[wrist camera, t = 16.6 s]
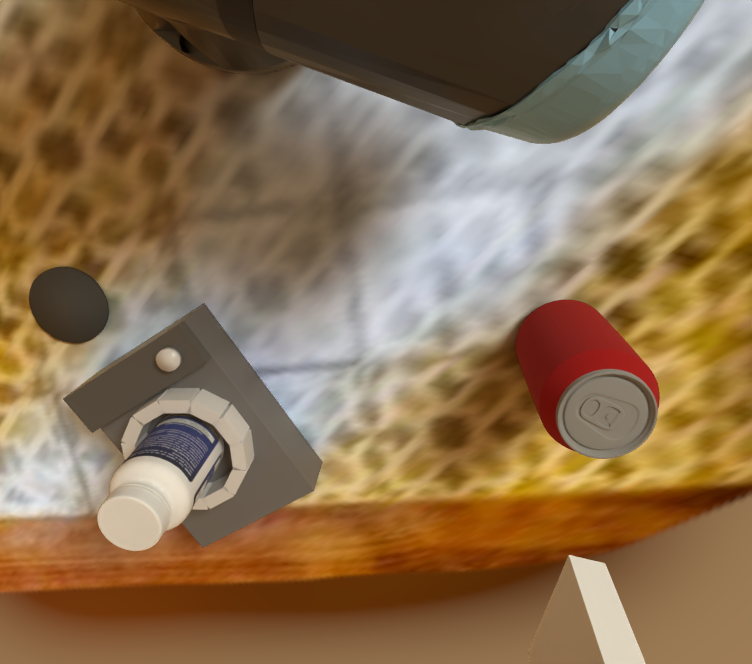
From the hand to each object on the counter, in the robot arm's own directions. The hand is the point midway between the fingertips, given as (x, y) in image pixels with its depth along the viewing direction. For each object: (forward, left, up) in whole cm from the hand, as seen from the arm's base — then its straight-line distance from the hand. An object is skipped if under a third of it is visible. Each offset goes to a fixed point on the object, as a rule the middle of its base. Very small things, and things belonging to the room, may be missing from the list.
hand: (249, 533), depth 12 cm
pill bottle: (+10, -17, -28) cm, 34 cm away
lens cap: (-2, -24, -32) cm, 40 cm away
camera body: (+10, -17, -32) cm, 37 cm away
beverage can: (+11, +11, -32) cm, 35 cm away
